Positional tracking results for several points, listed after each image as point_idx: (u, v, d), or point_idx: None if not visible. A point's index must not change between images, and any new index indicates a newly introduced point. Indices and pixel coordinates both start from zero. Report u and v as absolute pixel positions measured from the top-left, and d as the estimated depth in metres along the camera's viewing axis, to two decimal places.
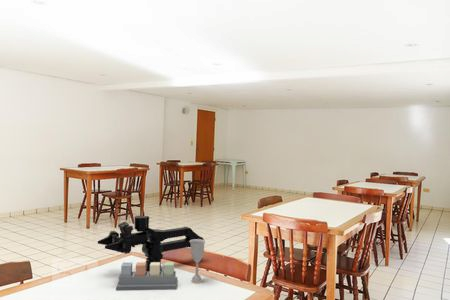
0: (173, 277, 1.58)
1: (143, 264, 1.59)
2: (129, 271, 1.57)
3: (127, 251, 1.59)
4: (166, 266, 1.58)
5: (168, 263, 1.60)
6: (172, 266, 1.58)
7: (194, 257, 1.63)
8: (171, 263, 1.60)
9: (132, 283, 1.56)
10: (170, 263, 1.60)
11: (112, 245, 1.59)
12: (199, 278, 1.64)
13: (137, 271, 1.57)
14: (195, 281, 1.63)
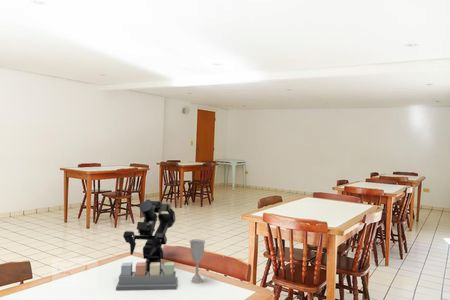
0: (173, 277, 1.58)
1: (143, 264, 1.59)
2: (129, 271, 1.57)
3: (166, 241, 1.65)
4: (166, 266, 1.58)
5: (168, 263, 1.60)
6: (172, 266, 1.58)
7: (194, 257, 1.63)
8: (171, 263, 1.60)
9: (132, 283, 1.56)
10: (170, 263, 1.60)
11: (153, 249, 1.60)
12: (199, 278, 1.64)
13: (137, 271, 1.57)
14: (195, 281, 1.63)
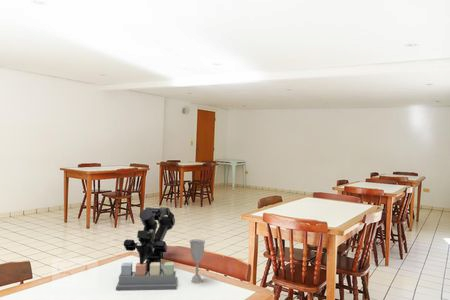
0: (173, 277, 1.58)
1: (143, 264, 1.59)
2: (129, 271, 1.57)
3: (166, 249, 1.65)
4: (166, 266, 1.58)
5: (168, 263, 1.60)
6: (172, 266, 1.58)
7: (194, 257, 1.63)
8: (171, 263, 1.60)
9: (132, 283, 1.56)
10: (170, 263, 1.60)
11: (145, 257, 1.61)
12: (199, 278, 1.64)
13: (137, 271, 1.57)
14: (195, 281, 1.63)
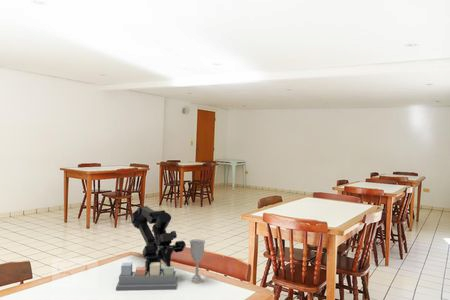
0: (173, 277, 1.58)
1: (143, 268, 1.59)
2: (129, 271, 1.57)
3: None
4: (166, 269, 1.58)
5: (167, 266, 1.60)
6: (172, 269, 1.58)
7: (194, 257, 1.63)
8: (171, 266, 1.60)
9: (132, 283, 1.56)
10: (170, 266, 1.60)
11: None
12: (199, 278, 1.64)
13: (137, 275, 1.57)
14: (195, 281, 1.63)
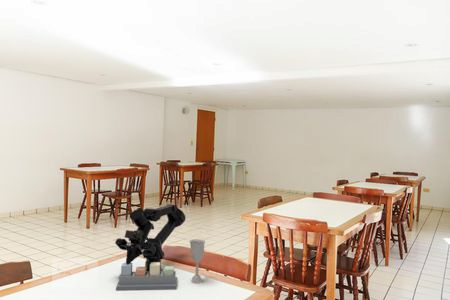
0: (173, 277, 1.58)
1: (143, 268, 1.59)
2: (129, 271, 1.57)
3: (154, 252, 1.62)
4: (166, 270, 1.58)
5: (167, 267, 1.60)
6: (172, 270, 1.58)
7: (194, 257, 1.63)
8: (171, 267, 1.61)
9: (132, 283, 1.56)
10: (170, 267, 1.60)
11: (131, 257, 1.60)
12: (199, 278, 1.64)
13: (137, 275, 1.57)
14: (195, 281, 1.63)
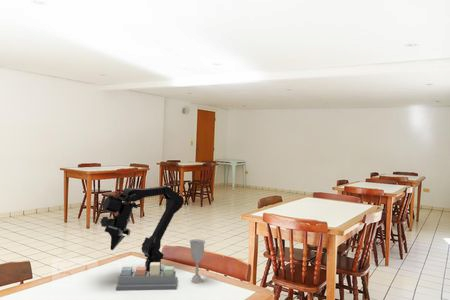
0: (173, 277, 1.58)
1: (143, 268, 1.59)
2: (129, 275, 1.57)
3: (115, 232, 1.56)
4: (166, 270, 1.58)
5: (167, 267, 1.60)
6: (172, 270, 1.58)
7: (194, 257, 1.63)
8: (171, 267, 1.61)
9: (132, 283, 1.56)
10: (170, 267, 1.60)
11: (111, 243, 1.63)
12: (199, 278, 1.64)
13: (137, 275, 1.57)
14: (195, 281, 1.63)
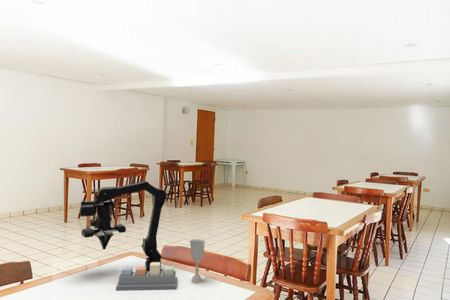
0: (173, 277, 1.58)
1: (143, 268, 1.59)
2: (129, 275, 1.57)
3: (84, 235, 1.61)
4: (166, 270, 1.58)
5: (167, 267, 1.60)
6: (172, 270, 1.58)
7: (194, 257, 1.63)
8: (171, 267, 1.61)
9: (132, 283, 1.56)
10: (170, 267, 1.60)
11: (101, 243, 1.68)
12: (199, 278, 1.64)
13: (137, 275, 1.57)
14: (195, 281, 1.63)
